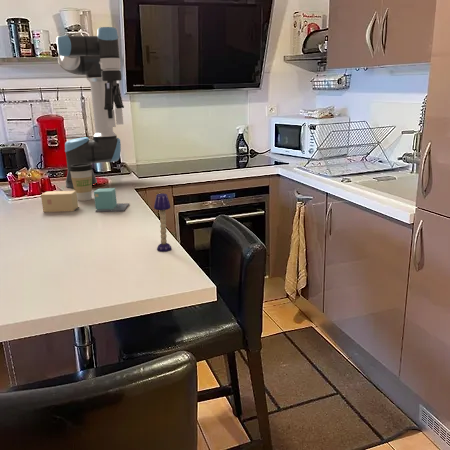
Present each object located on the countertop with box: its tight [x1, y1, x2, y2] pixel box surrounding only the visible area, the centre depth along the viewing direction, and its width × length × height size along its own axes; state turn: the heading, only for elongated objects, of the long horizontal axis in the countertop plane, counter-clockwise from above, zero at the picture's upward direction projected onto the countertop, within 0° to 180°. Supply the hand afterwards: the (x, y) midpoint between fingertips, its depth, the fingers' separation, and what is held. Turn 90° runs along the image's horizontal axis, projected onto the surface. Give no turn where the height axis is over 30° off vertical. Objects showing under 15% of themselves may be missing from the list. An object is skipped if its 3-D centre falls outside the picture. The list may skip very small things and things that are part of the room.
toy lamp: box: [153, 193, 173, 253], centre depth 134 cm, size 5×5×17 cm
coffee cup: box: [69, 164, 93, 202], centre depth 202 cm, size 10×10×15 cm
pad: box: [94, 202, 130, 213], centre depth 186 cm, size 11×11×1 cm
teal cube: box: [93, 187, 118, 210], centre depth 185 cm, size 6×7×7 cm
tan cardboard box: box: [40, 190, 80, 213], centre depth 186 cm, size 6×13×7 cm, turn 89°
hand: (116, 125), depth 187 cm, fingers open, 13 cm apart
